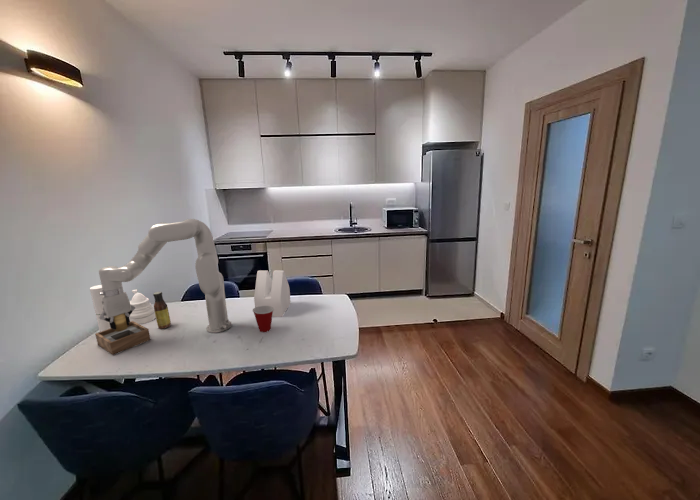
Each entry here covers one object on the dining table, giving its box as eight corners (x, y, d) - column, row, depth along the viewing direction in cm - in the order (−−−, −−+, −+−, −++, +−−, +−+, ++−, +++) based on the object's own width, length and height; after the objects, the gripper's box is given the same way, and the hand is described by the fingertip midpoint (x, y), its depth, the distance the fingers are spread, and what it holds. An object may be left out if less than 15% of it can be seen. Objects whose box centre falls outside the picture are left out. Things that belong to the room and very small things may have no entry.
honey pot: (124, 322, 171) (117, 293, 167) (146, 313, 183) (140, 285, 179) (139, 326, 166) (132, 295, 162) (160, 316, 178) (155, 288, 174)
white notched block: (267, 303, 192) (263, 266, 186) (290, 303, 191) (287, 266, 185) (256, 317, 173) (251, 276, 168) (282, 317, 172) (278, 275, 167)
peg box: (150, 339, 151) (148, 328, 149) (112, 355, 138) (110, 343, 136) (134, 331, 161) (132, 320, 159) (97, 344, 148) (95, 333, 146)
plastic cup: (280, 329, 158) (278, 307, 155) (261, 336, 150) (259, 314, 148) (268, 322, 165) (266, 302, 162) (250, 330, 157) (248, 309, 155)
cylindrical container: (119, 328, 164) (110, 285, 159) (104, 334, 158) (94, 289, 152) (112, 326, 167) (102, 283, 162) (97, 332, 161) (86, 288, 155)
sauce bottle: (173, 324, 166) (168, 291, 162) (163, 330, 161) (157, 295, 156) (165, 323, 169) (159, 290, 164) (154, 328, 163) (148, 294, 158)
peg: (129, 328, 148) (126, 313, 146) (117, 332, 144) (114, 317, 142) (125, 325, 151) (121, 311, 149) (113, 329, 147) (109, 314, 145)
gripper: (94, 299, 134) (102, 336, 138) (137, 287, 148) (143, 321, 152) (88, 296, 138) (96, 332, 142) (130, 285, 152) (136, 318, 156)
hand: (120, 326), depth 147 cm, fingers closed on peg, 5 cm apart
